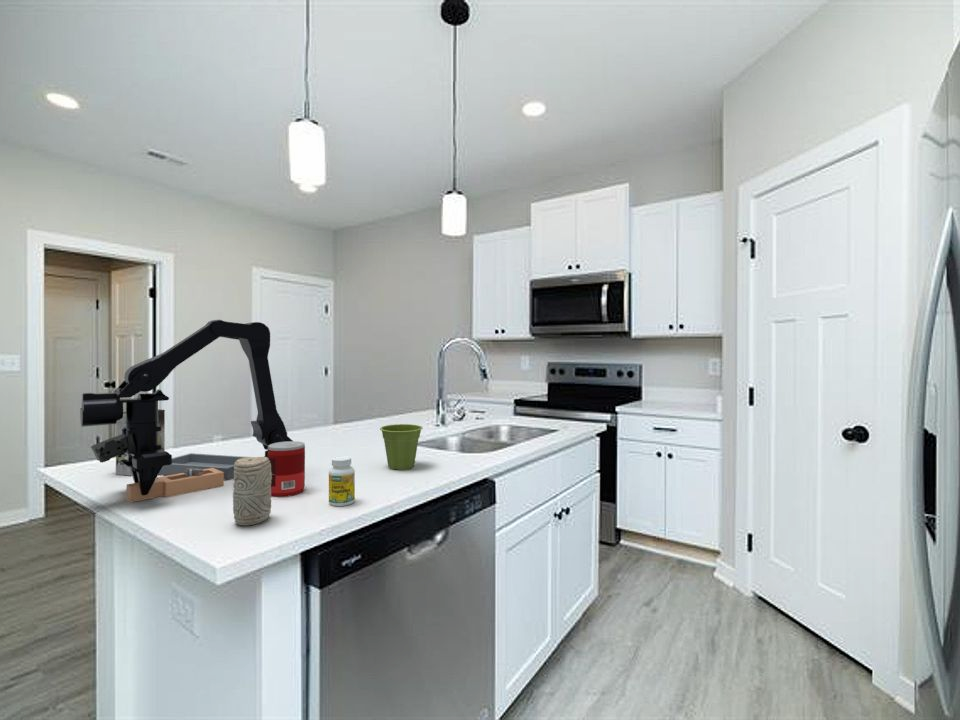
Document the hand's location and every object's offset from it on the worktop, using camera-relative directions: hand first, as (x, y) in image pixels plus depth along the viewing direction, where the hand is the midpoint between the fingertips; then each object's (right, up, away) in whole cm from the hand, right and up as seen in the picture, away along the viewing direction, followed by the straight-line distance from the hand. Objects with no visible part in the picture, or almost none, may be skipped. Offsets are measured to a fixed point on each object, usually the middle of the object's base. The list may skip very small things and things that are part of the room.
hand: (142, 493), depth 103 cm
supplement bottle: (+44, -2, -2) cm, 44 cm away
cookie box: (-16, -1, +22) cm, 28 cm away
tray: (+1, -1, +23) cm, 23 cm away
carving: (+30, -2, -13) cm, 33 cm away
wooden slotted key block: (+4, -1, +5) cm, 7 cm away
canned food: (+29, -2, +5) cm, 30 cm away
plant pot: (+52, -1, +29) cm, 59 cm away
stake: (+6, -1, +7) cm, 10 cm away
